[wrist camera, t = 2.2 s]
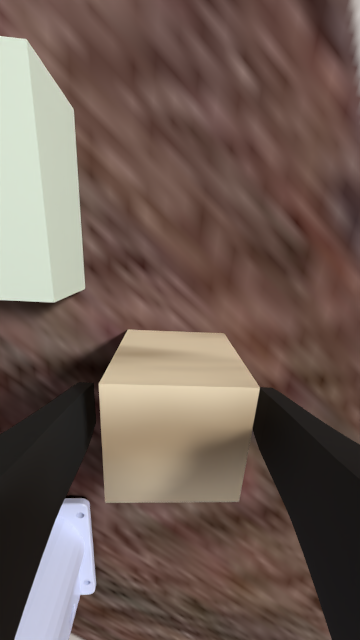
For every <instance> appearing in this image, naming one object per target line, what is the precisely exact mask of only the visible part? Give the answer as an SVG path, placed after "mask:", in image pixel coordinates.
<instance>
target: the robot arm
mask: <svg viewBox="0 0 360 640" xmlns="http://www.w3.org/2000/svg"><path fill="white" fill-rule="evenodd" d="M95 424H96V414H95V398H94V383H84V382H79V383H77V384H76V385H74V386H73V387H71V388H70V389H68V390H67V391H65V392H64V393H63V394H61V395H60V396H58V397H57V398H55V399H54V400H53V401H51V402H50V403H48V404H47V405H45V406H44V407H42V408H41V409H40V410H38V411H37V412H35V413H34V414H32V415H30V416H29V417H27V418H26V419H24V420H23V421H21V422H19V423H18V424H16V425H15V426H13V427H12V428H10V429H8V430H7V431H5V432H4V433H2V434H0V640H69V636H70V632H71V629H72V625H73V621H74V617H75V613H76V609H77V605H78V602H79V598H80V595H88V594H92V593H93V592H94V591H95V587H96V577H95V564H94V552H93V540H92V527H91V515H90V504H89V501H88V500H87V499H84V498H65V497H66V495H67V493H68V491H69V488H70V486H71V484H72V482H73V480H74V477H75V475H76V473H77V471H78V469H79V466H80V464H81V462H82V460H83V457H84V455H85V453H86V451H87V448H88V446H89V443H90V440H91V437H92V434H93V430H94V427H95ZM253 432H254V435H255V438H256V441H257V444H258V447H259V450H260V452H261V454H262V456H263V459H264V461H265V463H266V465H267V468H268V470H269V472H270V474H271V476H272V478H273V481H274V483H275V485H276V487H277V489H278V491H279V494H280V496H281V498H282V500H283V502H284V505H285V507H286V509H287V511H288V514H289V516H290V519H291V521H292V524H293V526H294V529H295V532H296V535H297V537H298V540H299V543H300V546H301V548H302V551H303V554H304V557H305V560H306V563H307V565H308V568H309V571H310V574H311V577H312V580H313V583H314V586H315V589H316V592H317V595H318V598H319V601H320V604H321V607H322V610H323V613H324V616H325V619H326V623H327V626H328V629H329V632H330V635H331V638H332V640H360V445H359V444H358V443H356V442H354V441H353V440H351V439H349V438H347V437H346V436H344V435H343V434H341V433H340V432H338V431H336V430H335V429H333V428H332V427H330V426H328V425H327V424H325V423H324V422H322V421H321V420H319V419H318V418H316V417H315V416H313V415H312V414H310V413H309V412H308V411H306V410H305V409H303V408H302V407H300V406H299V405H297V404H296V403H295V402H293V401H292V400H290V399H289V398H287V397H286V396H284V395H283V394H281V393H280V392H278V391H277V390H275V389H273V388H263V387H260V390H259V396H258V401H257V407H256V412H255V417H254V423H253Z"/></svg>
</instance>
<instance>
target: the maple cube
mask: <svg viewBox="0 0 360 640" xmlns="http://www.w3.org/2000/svg"><path fill="white" fill-rule="evenodd" d="M259 390H260V387H259V386H258V384H257V383H256V381H255V380H254V378H253V377H252V375H251V374H250V372H249V371H248V369H247V368H246V366H245V365H244V363H243V361H242V360H241V358H240V357H239V355H238V354H237V352H236V351H235V349H234V348H233V346H232V345H231V343H230V342H229V340H228V339H227V337H226V336H225V334H224V333H201V332H175V331H149V330H127V332H126V334H125V336H124V338H123V340H122V341H121V343H120V345H119V347H118V349H117V351H116V353H115V354H114V356H113V358H112V360H111V362H110V364H109V366H108V367H107V369H106V371H105V373H104V375H103V377H102V379H101V380H100V382H99V399H100V418H101V436H102V454H103V472H104V491H105V503H125V502H239V498H240V493H241V487H242V482H243V477H244V471H245V466H246V460H247V455H248V450H249V444H250V439H251V434H252V428H253V423H254V417H255V412H256V407H257V401H258V396H259Z"/></svg>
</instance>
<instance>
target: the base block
mask: <svg viewBox="0 0 360 640" xmlns="http://www.w3.org/2000/svg"><path fill="white" fill-rule="evenodd" d="M84 289H85V278H84V263H83V247H82V231H81V216H80V200H79V185H78V169H77V153H76V138H75V122H74V109H73V108H72V106H71V105H70V103H69V102H68V100H67V99H66V97H65V96H64V94H63V93H62V91H61V90H60V88H59V87H58V85H57V84H56V82H55V81H54V79H53V78H52V76H51V75H50V73H49V72H48V70H47V69H46V67H45V66H44V65H43V63H42V62H41V60H40V59H39V57H38V56H37V54H36V53H35V51H34V50H33V48H32V47H31V45H30V44H29V42H28V41H27V39H20V38H11V37H2V36H0V300H11V301H32V302H53V303H55V302H57V301H59V300H61V299H64V298H66V297H68V296H70V295H73V294H75V293H77V292H79V291H82V290H84Z"/></svg>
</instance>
